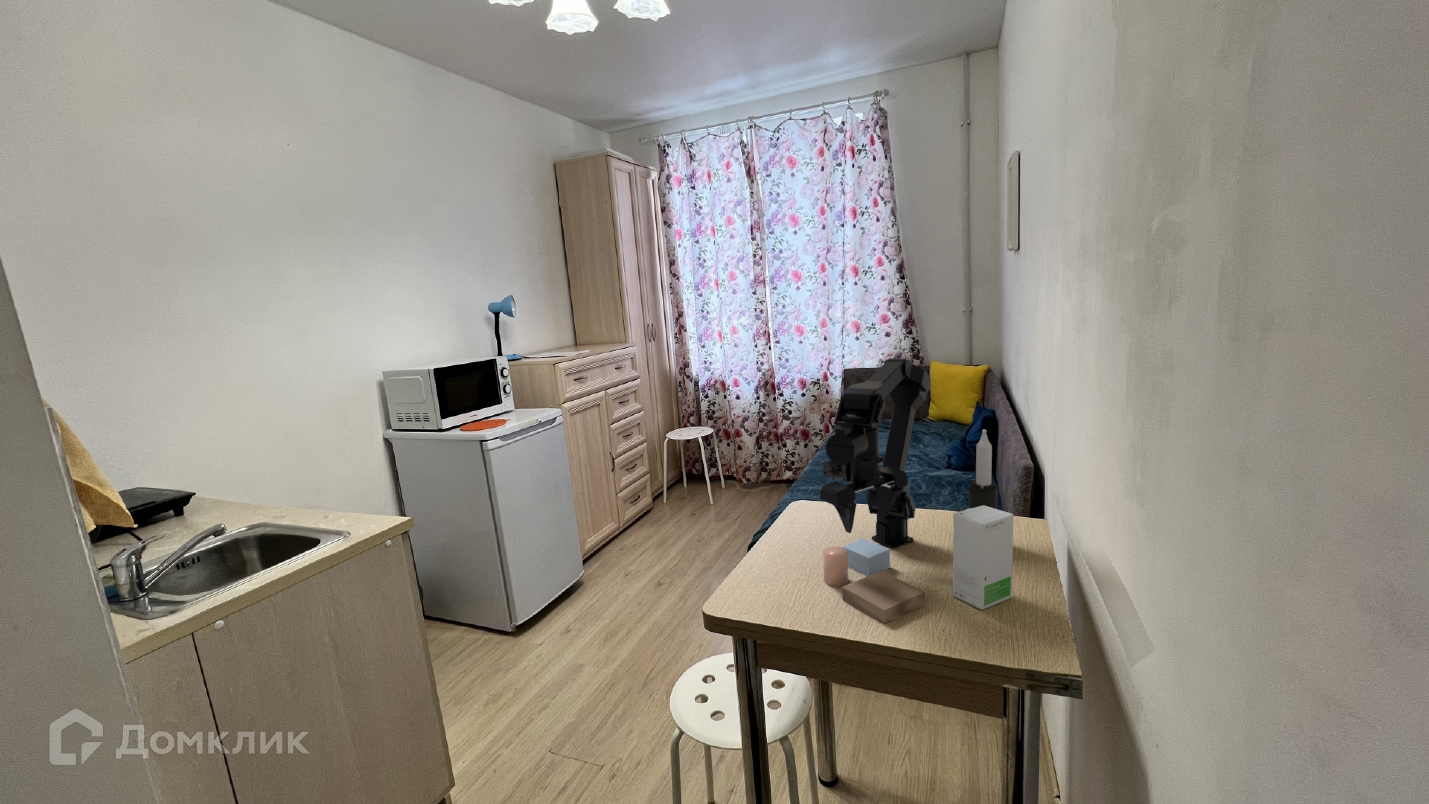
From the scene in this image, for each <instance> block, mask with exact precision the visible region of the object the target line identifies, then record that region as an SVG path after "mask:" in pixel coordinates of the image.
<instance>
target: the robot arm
mask: <svg viewBox="0 0 1429 804" xmlns="http://www.w3.org/2000/svg"><path fill="white" fill-rule="evenodd" d="M931 385H932V384H931V377H930V375H929V374H928V372H927V370H925V369H924V368H922V367H920V366H918V365H916V364H914V363H913V362H912V360H911V359H907V358H902V357H901V358H899V357H898V358H897V357H896V358H895V357H894V358H893V357H891V358H888V359H884V362H883V365H881V366H880V368H879V369H877V370H876V371H875V372H874V373H873V374H872V375H871V376H870V377H869V378H868V379H867V380H866V381H864V382H859V383H854V384H851V385H850V386H848V387H846V389H844V391H843V392H842V394H841V396H840V399H839V404H838V408H837V411H836V414H835V418H834V421H833V424H834V426H837V427H835V428H834V434H833V435H832V436H830V437H829V438H828V440H827V441H826V444H825V452H826V455H827V457H828V458H829V460H827V461H823V462H822V472H823V476H824V477H825V478H830V480H831V481H833V482H830V483H826V484H823V485H822V486H821V487H820V489H819V499H820V500H821V501H824V502H826V503H827V504H830V505H832V506H833V507H834V508H835V510H836V512H837V513H838V516H839V518H840V521H841V523H842V524H843V527H844V531H845V533H848V534H851V533H852V530H853V527H854V521H855V516H856V510H857V503H856V502H854V501H855V499H856V494H857V493H861V492H864V491H867V492H866V502H867V506H868V507H867V508H868V511H869V514H870V515H873V514H874V515H876V522H875V535H872V536H871V539H872V540H873V541H875V542H878V543H880V544H882V545H885V546H887V547H890V548H892V549H896V548H898V547H900V546H903V545H906V544H908V543H911V542H913V541H914V538H913V537H911V536H909V535H908V533H909V531H908V527H909V525H908V524H909V523H908V520H909V519H914V518H915V512H916V503H915V501H914V499H913V497H912V495H911V494H910V491H911V490H910V489H911V488H910V484H909V479H908V478H909V476H908V475H907V473H906V468H907V467H906V466H907V461H908V456H909V449H910V444H911V439H912V433H913V428H914V423H915V417H916V412H917V410H918V409H919V408H920V407H921V406H922V405H923V404H924V403H925V402H926V400H927V396H928V395H927V394H928V392H930V389H931ZM888 395H889V397H890V399H891V401H892V404H893V410H892V415H891V419H890V426H889V430H888V435H887V440H886V445H885V450H884V451H885V452H884V455H880V446H879V445H880V442H879V436H880V434H879V425H881V424H882V420H881V419H882V417H883V414H884V410H885V408H886V404H887V402H886V400H885V399H886V398H887V396H888ZM880 463H882V466H881V468H880ZM841 478H842V479H841ZM836 479H837V480H838V479H841V480H842V481H843V482H849V484H844V483H841V482H839V481H835V480H836Z"/></svg>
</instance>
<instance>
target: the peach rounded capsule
mask: <svg viewBox="0 0 1429 804" xmlns="http://www.w3.org/2000/svg"><path fill="white" fill-rule="evenodd" d="M842 547H843V546H842ZM842 547H841V546H828V547H826V548H824V549H823V550H822V556H823V557H822V560H823V561H822V563H823V582H824V583H825V584H826V585H827V586H830V587H836V588H837V587H838V588H839V587H843V586H846V585H848V584H849V567H848V552H847V550H846V549H844V548H842Z"/></svg>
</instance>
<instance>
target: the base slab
mask: <svg viewBox="0 0 1429 804" xmlns="http://www.w3.org/2000/svg"><path fill="white" fill-rule="evenodd" d="M841 587H842V588H841V591H842V592H841V593H842V595H841V596H842V599H841V600H842V601H844V602H846V603H848V604H849V605H850V606H852V607H853V608H856V609H858V610H860V611H861V612H863V613H865V614H867V615H868V616H869V617H871V618H873V619H875V620H877V621H878V622H880V623H881V624H884V625H885V624H887V623H889V622H892V621H895V620H896V619H898V618H900V617H902V616H904V615H907V614H909V613H910V612H911V613H912V612H913V611H915V610H917V609H919V608H922V607H923V606H926V591H925V590H922V589H921V588H919V587H916V586H915V585H912V584H910V583H908V582H906V581H904V580H902V579H899V578H897V576H896V577H895V576H893V575H891V574H889V573H888V572H886V571H884V570H882V571H880V572H877V573H875V574H872V575H870V576H866V577H862V578H860V579H857V580H855V581H853V582H851V583H847V584H846V585H844V586H841Z"/></svg>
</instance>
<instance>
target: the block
mask: <svg viewBox="0 0 1429 804" xmlns="http://www.w3.org/2000/svg"><path fill="white" fill-rule="evenodd" d="M842 548H844V549H846V550H847V552H848V568H850V569H852V570H855V571H856V572H859V573H861V574H863V575H865V576H866V577H868V576H870V575H872V574H875V573H877V572H880V571H885V570H886V569H889V568H891V554H890V553H891V552H890V551H891V550H890V548H888V547H886V546H885V547H884V546H883V545H880V544H878V543H875V542H873V541H870V540H868V539H865V538H861V539H859V540H856V541H853V542H850V543H848V544H845V545H843V546H842Z"/></svg>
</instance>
